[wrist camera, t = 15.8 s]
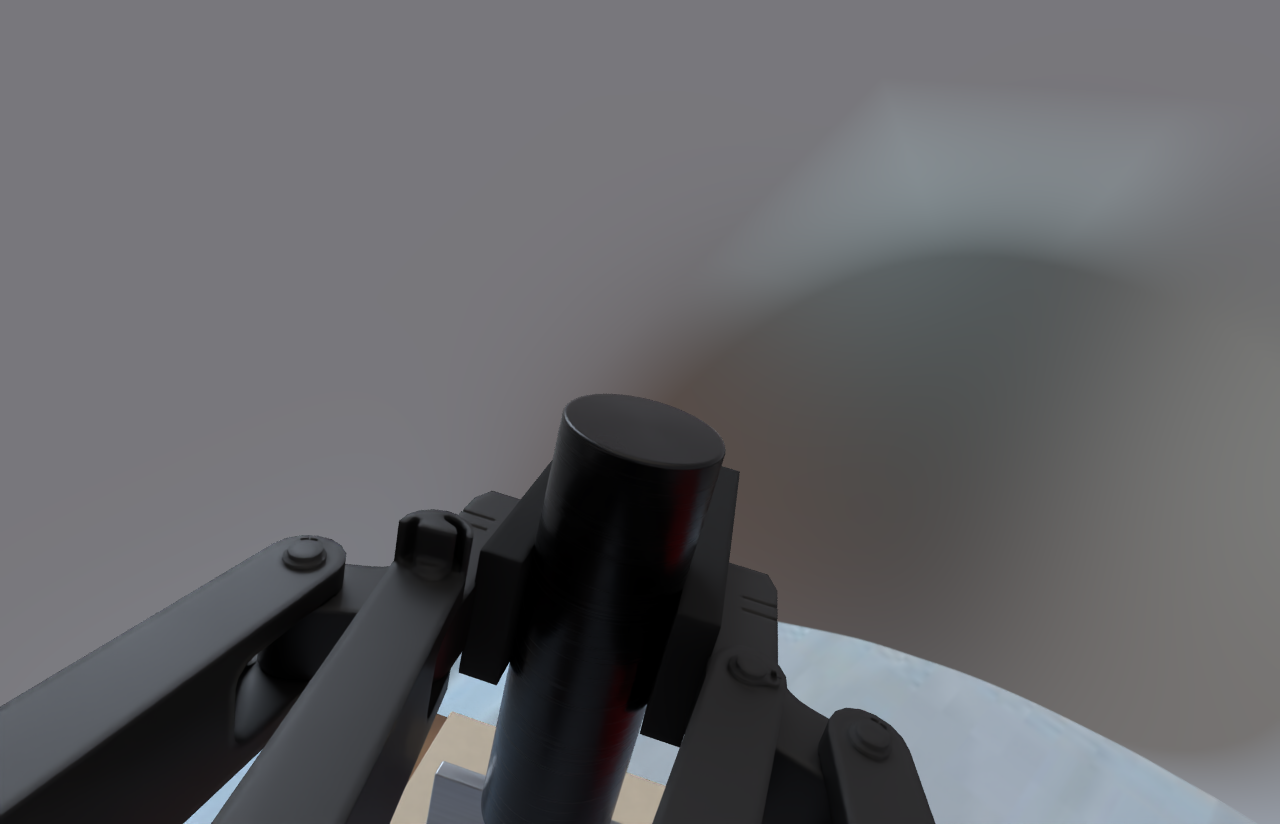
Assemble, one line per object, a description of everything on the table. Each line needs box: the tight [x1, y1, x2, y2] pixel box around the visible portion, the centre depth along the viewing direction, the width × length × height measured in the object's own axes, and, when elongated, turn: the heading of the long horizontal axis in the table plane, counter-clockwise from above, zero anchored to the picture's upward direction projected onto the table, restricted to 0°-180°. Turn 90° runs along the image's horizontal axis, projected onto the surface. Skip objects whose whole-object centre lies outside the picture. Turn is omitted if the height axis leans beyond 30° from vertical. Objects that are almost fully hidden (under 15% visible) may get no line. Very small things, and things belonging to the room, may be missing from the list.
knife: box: [426, 394, 725, 824], centre depth 15 cm, size 3×5×19 cm, turn 79°
